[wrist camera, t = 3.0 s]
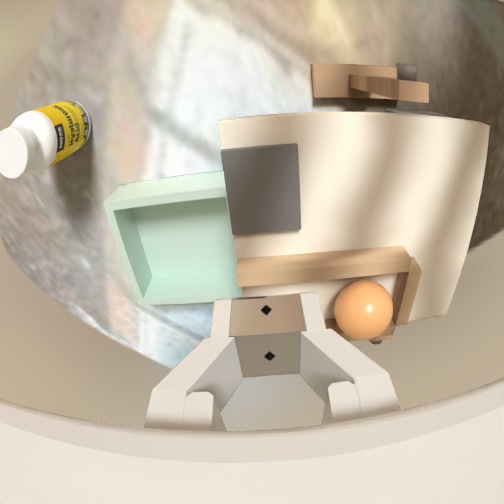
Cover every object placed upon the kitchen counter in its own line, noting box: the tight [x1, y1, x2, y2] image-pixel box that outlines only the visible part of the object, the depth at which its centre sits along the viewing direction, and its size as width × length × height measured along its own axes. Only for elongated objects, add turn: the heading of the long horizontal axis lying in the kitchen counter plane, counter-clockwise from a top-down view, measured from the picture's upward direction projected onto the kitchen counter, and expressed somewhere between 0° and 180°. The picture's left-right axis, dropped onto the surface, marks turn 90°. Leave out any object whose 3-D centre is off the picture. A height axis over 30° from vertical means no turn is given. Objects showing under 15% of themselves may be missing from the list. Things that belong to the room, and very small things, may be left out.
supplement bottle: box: [0, 100, 91, 179], centre depth 21 cm, size 5×5×10 cm
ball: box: [334, 280, 393, 340], centre depth 20 cm, size 4×4×4 cm
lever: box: [218, 108, 490, 341], centre depth 22 cm, size 17×16×9 cm
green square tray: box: [103, 170, 243, 305], centre depth 30 cm, size 12×12×4 cm
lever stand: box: [311, 64, 429, 344], centre depth 24 cm, size 8×22×11 cm, turn 5°
